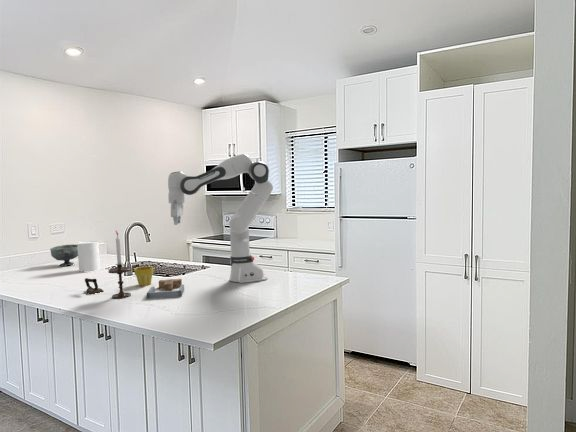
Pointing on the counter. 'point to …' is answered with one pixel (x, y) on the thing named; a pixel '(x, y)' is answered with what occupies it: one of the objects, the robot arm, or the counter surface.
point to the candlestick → (119, 272)
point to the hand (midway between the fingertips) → (177, 224)
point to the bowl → (65, 253)
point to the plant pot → (144, 275)
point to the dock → (164, 293)
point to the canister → (88, 256)
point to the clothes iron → (90, 289)
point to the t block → (169, 284)
